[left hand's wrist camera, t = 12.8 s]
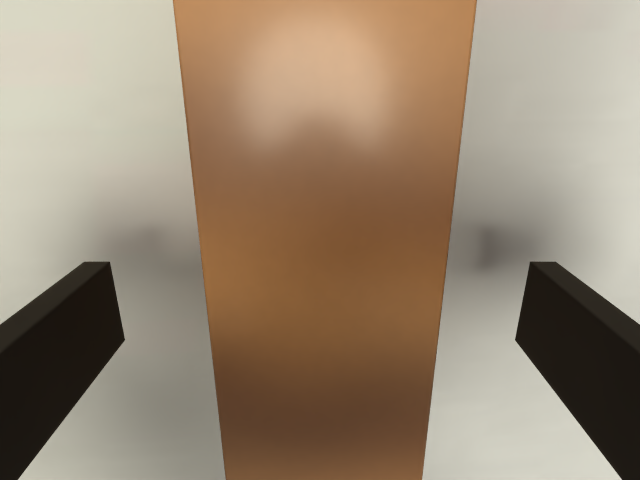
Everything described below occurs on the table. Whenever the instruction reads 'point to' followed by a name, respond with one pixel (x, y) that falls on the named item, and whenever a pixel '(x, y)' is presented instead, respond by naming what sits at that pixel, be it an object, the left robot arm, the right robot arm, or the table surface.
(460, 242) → the table surface
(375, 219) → the bar
